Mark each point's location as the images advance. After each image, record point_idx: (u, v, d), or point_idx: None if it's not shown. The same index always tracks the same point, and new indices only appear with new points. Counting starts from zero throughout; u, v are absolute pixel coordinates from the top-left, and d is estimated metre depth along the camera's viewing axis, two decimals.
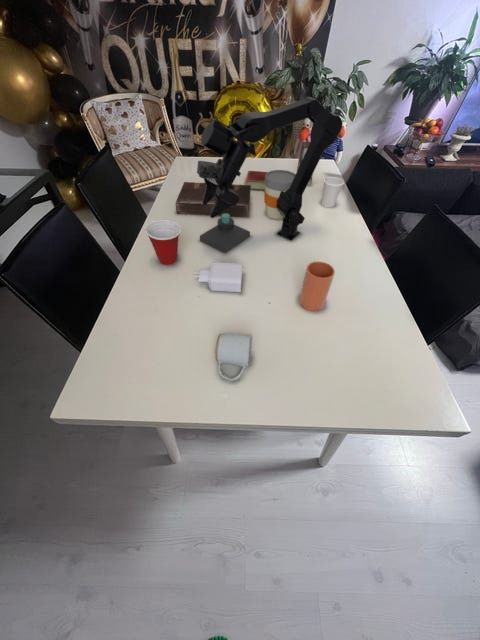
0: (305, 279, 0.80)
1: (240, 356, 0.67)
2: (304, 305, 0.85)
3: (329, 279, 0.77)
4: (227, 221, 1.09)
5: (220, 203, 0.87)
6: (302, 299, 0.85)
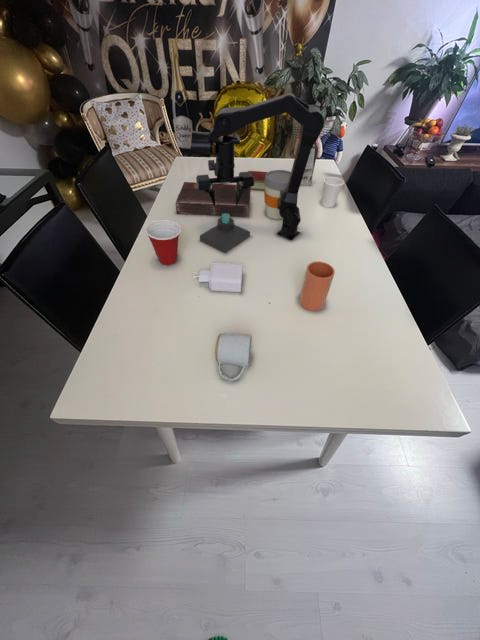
0: (305, 279, 0.80)
1: (240, 356, 0.67)
2: (304, 305, 0.85)
3: (329, 279, 0.77)
4: (227, 221, 1.09)
5: None
6: (302, 299, 0.85)
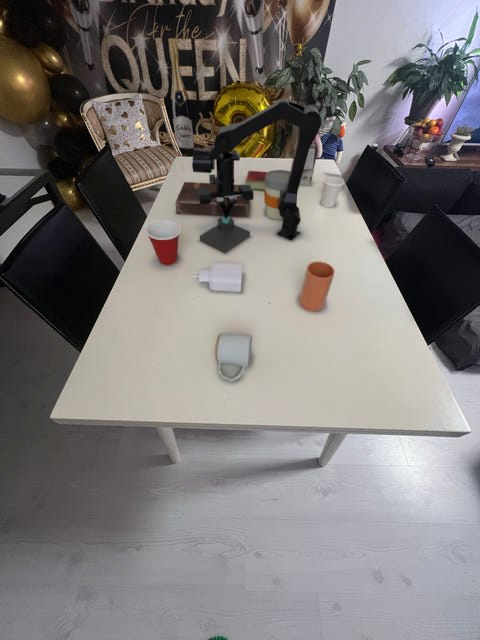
0: (305, 279, 0.80)
1: (240, 356, 0.67)
2: (304, 305, 0.85)
3: (329, 279, 0.77)
4: None
5: None
6: (302, 299, 0.85)
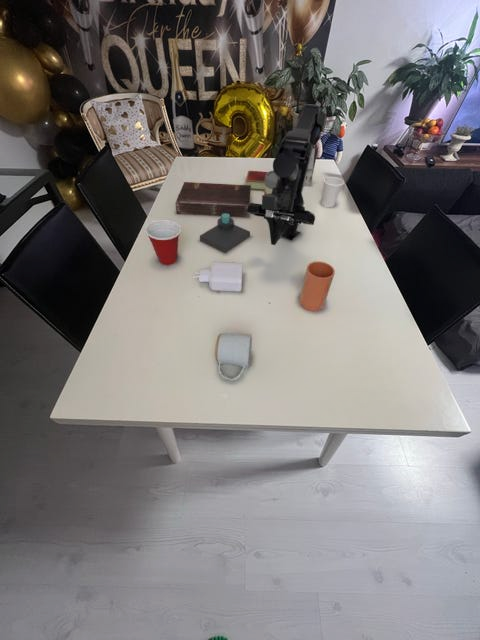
0: (305, 279, 0.80)
1: (240, 356, 0.67)
2: (304, 305, 0.85)
3: (329, 279, 0.77)
4: (227, 221, 1.09)
5: (281, 226, 0.83)
6: (302, 299, 0.85)
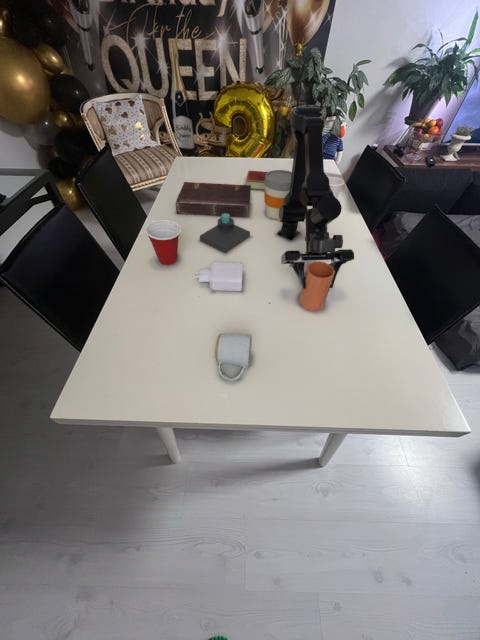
0: (305, 279, 0.80)
1: (240, 356, 0.67)
2: (304, 305, 0.85)
3: (329, 279, 0.77)
4: (227, 221, 1.09)
5: None
6: (302, 299, 0.85)
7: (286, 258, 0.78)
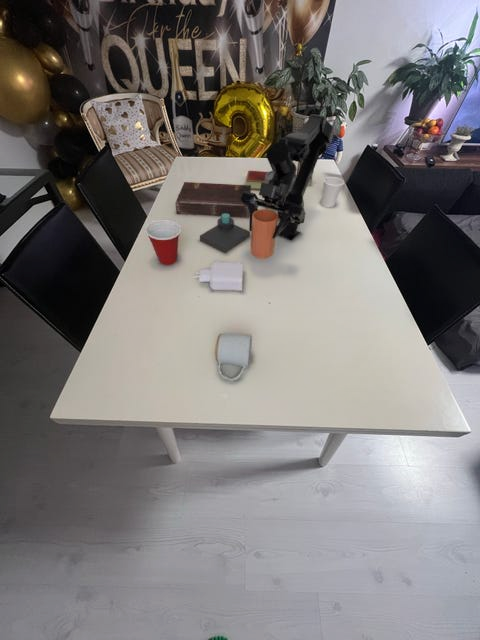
0: None
1: (240, 356, 0.67)
2: (250, 250, 0.91)
3: (265, 224, 0.82)
4: (227, 221, 1.09)
5: None
6: None
7: None
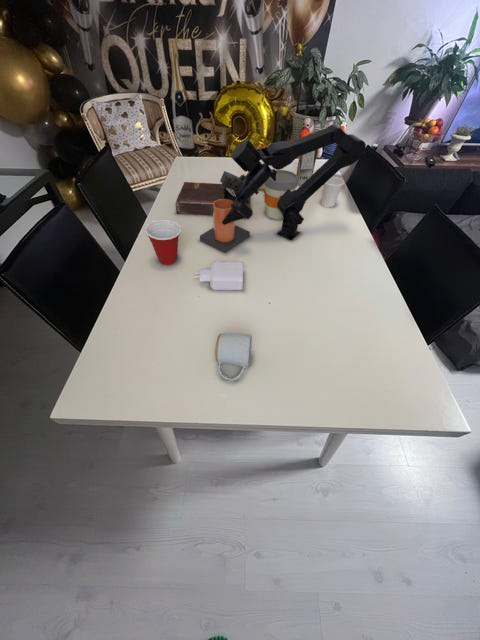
0: None
1: (240, 356, 0.67)
2: None
3: (215, 209, 0.96)
4: None
5: (234, 213, 0.94)
6: None
7: None
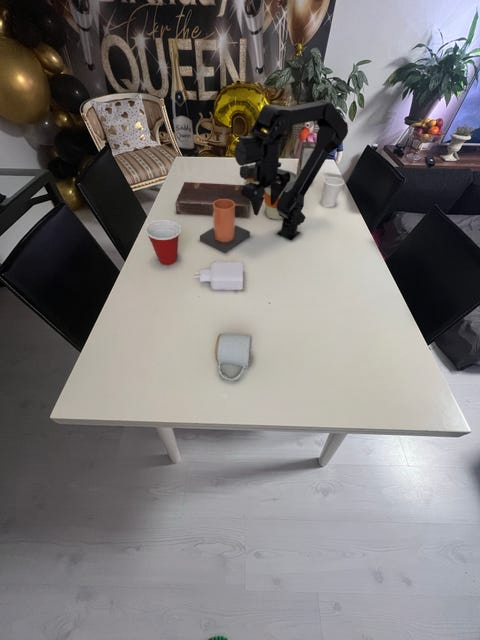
0: None
1: (240, 356, 0.67)
2: None
3: (215, 209, 0.96)
4: None
5: (254, 200, 0.91)
6: None
7: None
